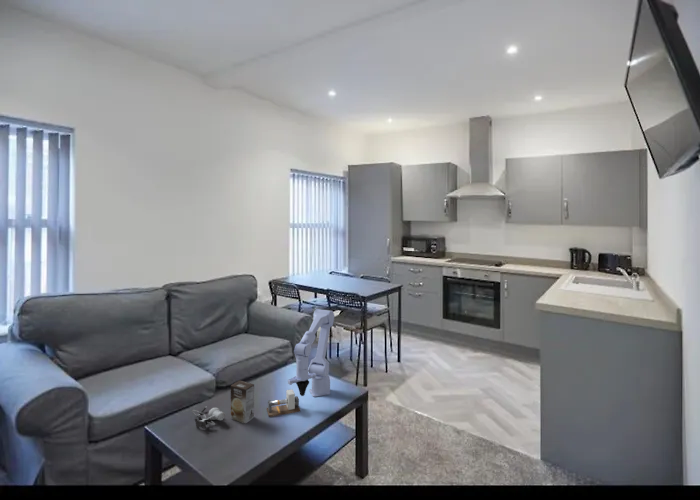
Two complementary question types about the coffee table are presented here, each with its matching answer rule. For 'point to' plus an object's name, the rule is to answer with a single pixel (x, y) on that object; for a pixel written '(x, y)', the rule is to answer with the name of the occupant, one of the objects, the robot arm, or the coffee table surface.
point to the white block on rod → (290, 399)
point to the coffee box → (242, 401)
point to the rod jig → (281, 407)
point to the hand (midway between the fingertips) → (302, 395)
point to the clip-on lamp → (213, 415)
